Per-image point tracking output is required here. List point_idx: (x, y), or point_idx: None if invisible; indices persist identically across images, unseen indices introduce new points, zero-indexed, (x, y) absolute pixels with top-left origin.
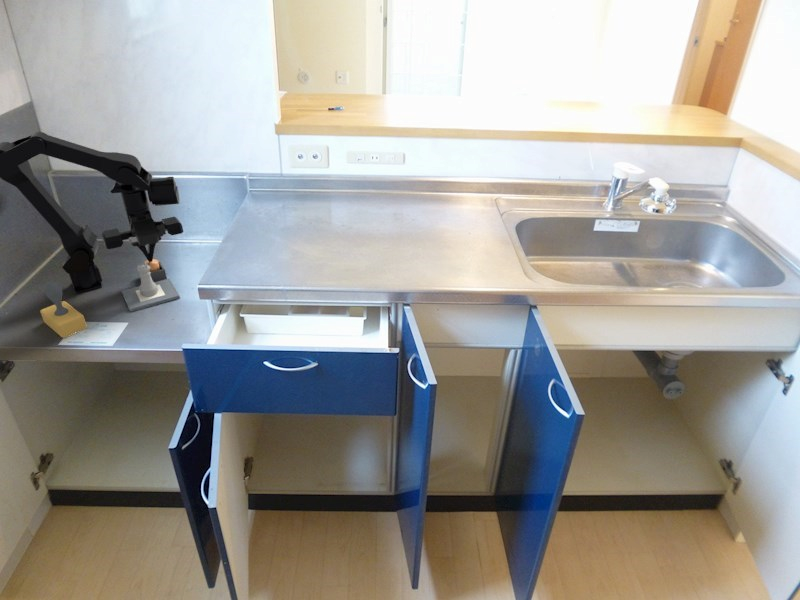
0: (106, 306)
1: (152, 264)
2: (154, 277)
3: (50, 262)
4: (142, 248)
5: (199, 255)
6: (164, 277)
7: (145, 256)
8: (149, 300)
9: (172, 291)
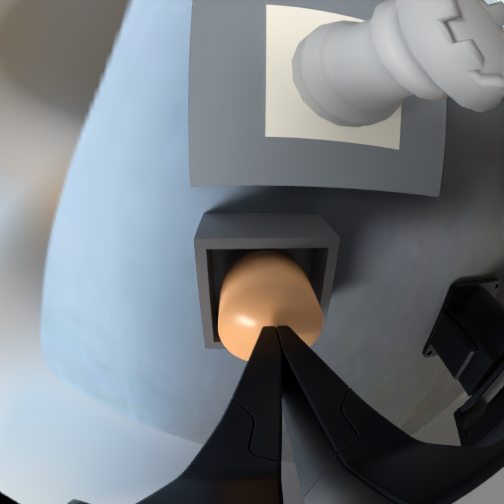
0: (484, 132)
1: (270, 295)
2: (274, 223)
3: (429, 421)
4: (372, 435)
5: (62, 344)
6: (214, 217)
7: (322, 361)
8: (357, 11)
9: (215, 22)
